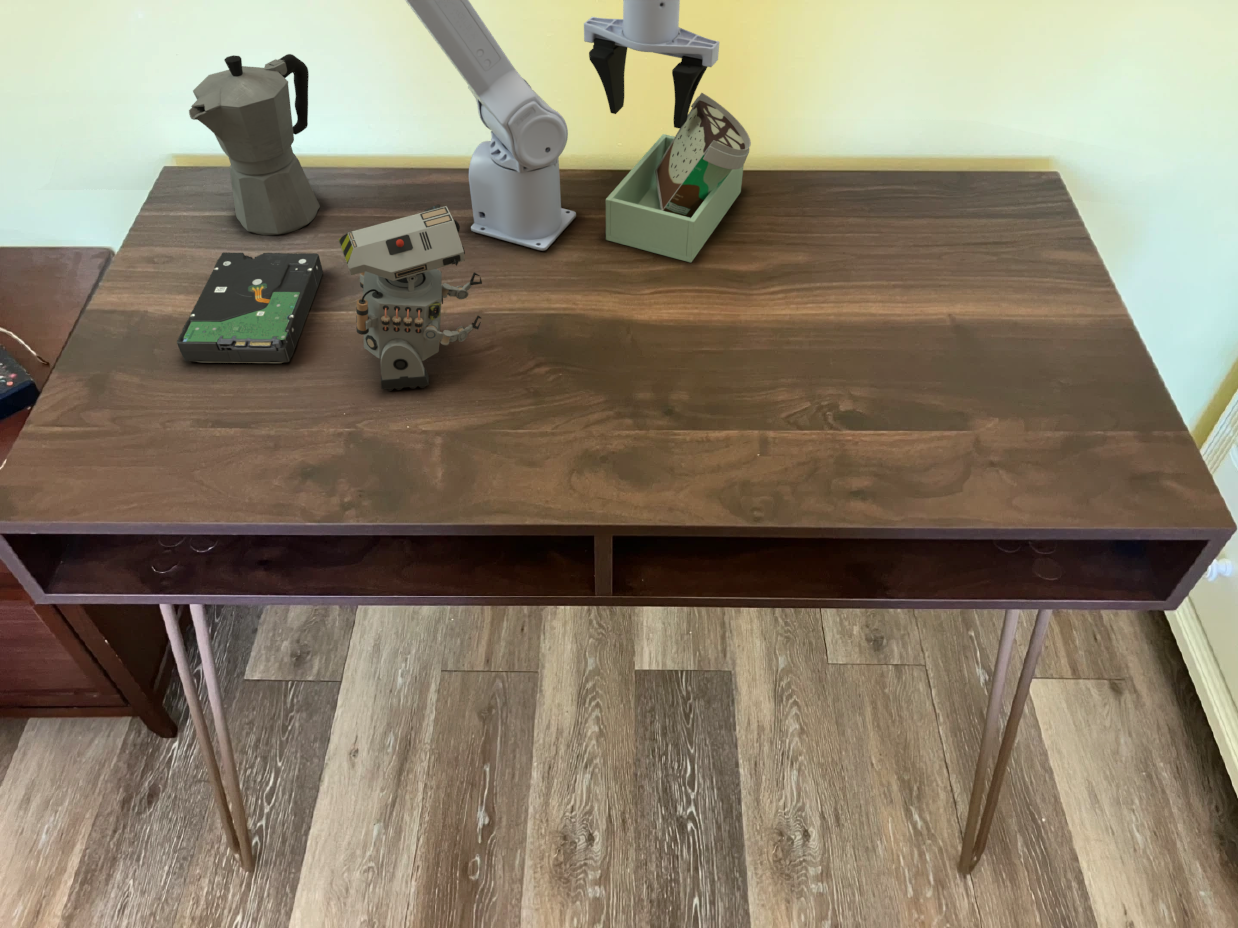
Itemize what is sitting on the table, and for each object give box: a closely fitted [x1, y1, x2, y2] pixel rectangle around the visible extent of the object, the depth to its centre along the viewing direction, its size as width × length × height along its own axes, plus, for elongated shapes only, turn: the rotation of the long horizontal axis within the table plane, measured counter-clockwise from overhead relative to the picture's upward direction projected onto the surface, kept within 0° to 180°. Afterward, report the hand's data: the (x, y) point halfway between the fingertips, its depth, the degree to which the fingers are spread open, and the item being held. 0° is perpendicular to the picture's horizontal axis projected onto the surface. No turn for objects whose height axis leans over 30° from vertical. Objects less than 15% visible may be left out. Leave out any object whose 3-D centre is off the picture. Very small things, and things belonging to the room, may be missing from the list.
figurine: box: [338, 204, 483, 392], centre depth 85 cm, size 9×12×15 cm
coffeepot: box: [188, 53, 321, 236], centre depth 101 cm, size 15×9×18 cm, turn 149°
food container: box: [655, 92, 752, 218], centre depth 103 cm, size 12×6×10 cm, turn 3°
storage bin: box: [605, 133, 745, 263], centre depth 105 cm, size 10×16×5 cm, turn 155°
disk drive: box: [176, 251, 324, 364], centre depth 93 cm, size 10×3×15 cm
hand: (648, 116), depth 103 cm, fingers open, 7 cm apart
